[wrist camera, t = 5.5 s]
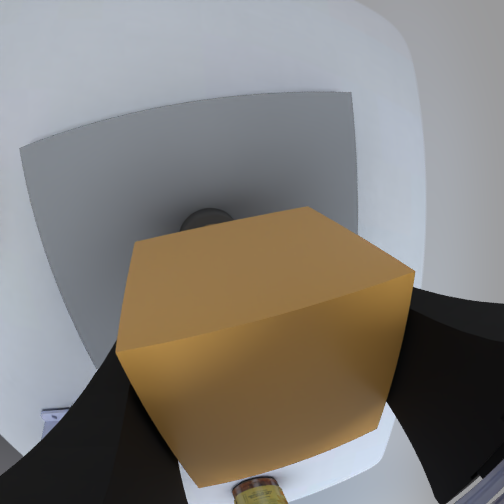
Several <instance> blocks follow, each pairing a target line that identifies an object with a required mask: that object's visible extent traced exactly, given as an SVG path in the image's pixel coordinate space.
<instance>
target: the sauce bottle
mask: <svg viewBox="0 0 504 504" xmlns="http://www.w3.org/2000/svg"><path fill="white" fill-rule="evenodd" d="M232 493H233V496H234V499H235V500H234V503H235V504H288V502H287V500H286V498H285V496H284V494H283V491H282V489H281V488H280V487H279V485H278V484H277V481H276V480H274V479H273V478H257V479H252V480H247V481H245V482H242V483H241V484H239V485H238V486H237V487H235V488H234V489H233V491H232Z"/></svg>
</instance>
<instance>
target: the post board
mask: <svg viewBox="0 0 504 504" xmlns="http://www.w3.org/2000/svg"><path fill="white" fill-rule="evenodd" d="M19 149H20V155H21V160H22V166H23V171H24V176H25V180H26V185H27V189H28V194H29V198H30V202H31V206H32V209H33V213H34V217H35V220H36V224H37V227H38V231H39V234H40V237H41V241H42V244H43V247H44V250H45V253H46V256H47V259H48V262H49V264H50V267H51V270H52V273H53V275H54V278H55V281H56V283H57V286H58V288H59V291H60V293H61V296H62V298H63V300H64V303H65V305H66V308H67V310H68V312H69V314H70V317H71V319H72V321H73V323H74V325H75V328H76V330H77V332H78V334H79V336H80V338H81V340H82V342H83V344H84V346H85V348H86V350H87V352H88V354H89V356H90V358H91V360H92V361H93V363H94V365H95V367H96V369H98V368H100V366H101V365H102V363H103V361H104V360H105V358H106V356H107V355H108V353H109V352H110V350H111V348H112V347H113V345H114V343H115V342H116V340H117V336H118V329H119V323H120V316H121V310H122V304H123V298H124V293H125V287H126V282H127V277H128V272H129V267H130V262H131V257H132V253H133V248H134V244H135V242H136V241H141V240H145V239H150V238H154V237H158V236H163V235H167V234H172V233H176V232H181V231H186V230H190V229H195V228H200V227H204V226H209V225H214V224H219V223H224V222H228V221H233V220H238V219H243V218H248V217H253V216H258V215H264V214H269V213H274V212H279V211H285V210H290V209H295V208H301V207H306V206H308V207H310V208H312V209H314V210H315V211H317V212H319V213H321V214H323V215H324V216H326V217H328V218H329V219H331V220H333V221H335V222H336V223H338V224H340V225H341V226H343V227H345V228H347V229H348V230H350V231H352V232H353V233H355V234H357V235H358V191H357V160H356V142H355V127H354V115H353V103H352V94H351V92H287V93H268V94H254V95H242V96H232V97H223V98H215V99H207V100H200V101H193V102H187V103H181V104H175V105H169V106H164V107H159V108H154V109H149V110H144V111H139V112H135V113H131V114H126V115H122V116H118V117H114V118H110V119H106V120H103V121H99V122H95V123H92V124H88V125H85V126H82V127H78V128H75V129H72V130H69V131H66V132H62V133H59V134H56V135H54V136H51V137H48V138H45V139H42V140H40V141H37V142H34V143H32V144H29V145H26V146H24V147H21V148H19Z"/></svg>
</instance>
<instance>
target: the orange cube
mask: <svg viewBox="0 0 504 504" xmlns="http://www.w3.org/2000/svg"><path fill="white" fill-rule="evenodd" d="M414 277H415V271H414V270H413V269H411V268H409V267H408V266H406V265H405V264H403V263H402V262H400V261H399V260H397V259H395V258H394V257H392V256H391V255H389V254H388V253H386V252H384V251H383V250H381V249H380V248H378V247H376V246H375V245H373V244H371V243H370V242H368V241H367V240H365V239H363V238H362V237H360V236H358V235H357V234H355V233H353V232H352V231H350V230H348V229H347V228H345V227H343V226H341V225H340V224H338V223H336V222H335V221H333V220H331V219H329V218H328V217H326V216H324V215H323V214H321V213H319V212H317V211H315V210H314V209H312V208H310V207H308V206H306V207H301V208H295V209H290V210H285V211H279V212H274V213H269V214H264V215H258V216H253V217H248V218H243V219H238V220H233V221H228V222H224V223H219V224H214V225H209V226H204V227H200V228H195V229H190V230H186V231H181V232H176V233H172V234H167V235H163V236H158V237H154V238H150V239H145V240H141V241H136V242H135V244H134V248H133V253H132V257H131V262H130V267H129V272H128V277H127V282H126V287H125V293H124V298H123V304H122V310H121V316H120V323H119V329H118V336H117V344H116V351H115V353H116V355H117V357H118V359H119V361H120V363H121V365H122V367H123V369H124V371H125V373H126V375H127V377H128V378H129V380H130V382H131V384H132V386H133V388H134V390H135V391H136V393H137V395H138V397H139V399H140V400H141V402H142V404H143V406H144V407H145V409H146V411H147V412H148V414H149V416H150V417H151V419H152V421H153V422H154V424H155V426H156V427H157V429H158V430H159V432H160V434H161V435H162V437H163V438H164V440H165V441H166V443H167V444H168V446H169V447H170V449H171V450H172V452H173V453H174V455H175V456H176V458H177V459H178V461H179V462H180V463H181V465H182V466H183V468H184V469H185V470H186V472H187V473H188V475H189V476H190V477H191V479H192V480H193V481H194V483H195V484H196V485H197V486H198V488H202V487H207V486H212V485H217V484H222V483H226V482H231V481H235V480H239V479H243V478H247V477H251V476H255V475H258V474H262V473H265V472H269V471H272V470H275V469H278V468H282V467H285V466H288V465H291V464H294V463H297V462H299V461H302V460H305V459H308V458H311V457H313V456H316V455H318V454H321V453H324V452H326V451H329V450H331V449H333V448H336V447H338V446H340V445H343V444H345V443H347V442H350V441H352V440H354V439H356V438H358V437H361V436H363V435H365V434H367V433H369V432H371V431H373V430H375V429H377V427H378V424H379V421H380V418H381V415H382V412H383V409H384V406H385V403H386V400H387V397H388V393H389V390H390V387H391V383H392V380H393V376H394V373H395V369H396V365H397V361H398V357H399V353H400V349H401V345H402V341H403V336H404V332H405V327H406V322H407V317H408V312H409V307H410V301H411V296H412V290H413V283H414Z"/></svg>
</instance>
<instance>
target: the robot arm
mask: <svg viewBox="0 0 504 504" xmlns="http://www.w3.org/2000/svg"><path fill="white" fill-rule="evenodd" d="M116 344H117V340H116V342H115V343H114V345H113V347H112V348H111V350H110V352H109V353H108V355H107V356H106V358H105V360H104V361H103V363H102V365H101V366H100V368H99V369H98V370H97V372H96V373H95V375H94V376H93V378H92V379H91V381H90V382H89V384H88V385H87V387H86V388H85V390H84V391H83V392H82V394H81V395H80V396H79V398H78V399H77V400H76V402H75V403H74V404H73V405H72V407H71V408H70V409H66V410H52V411H42V412H41V417H42V419H43V420H44V421H45V424H44V429H43V434H42V439H41V441H40V442H39V443H38V444H37V445H36V446H35V447H34V448H33V449H32V450H31V451H30V452H28V453H27V454H26V455H25V456H24V457H23V458H22V459H21V460H19V461H18V462H17V463H16V464H15V465H13V466H12V467H11V468H10V469H8V470H7V471H6V472H5V473H3V474H2V475H1V476H0V504H188V502H187V499H186V495H185V491H184V487H183V483H182V479H181V474H180V470H179V464H178V459H177V458H176V456H175V455H174V453H173V452H172V450H171V449H170V447H169V446H168V444H167V443H166V441H165V440H164V438H163V437H162V435H161V434H160V432H159V430H158V429H157V427H156V426H155V424H154V422H153V421H152V419H151V417H150V416H149V414H148V412H147V411H146V409H145V407H144V406H143V404H142V402H141V400H140V399H139V397H138V395H137V393H136V391H135V390H134V388H133V386H132V384H131V382H130V380H129V378H128V377H127V375H126V373H125V371H124V369H123V367H122V365H121V363H120V361H119V359H118V357H117V355H116V353H115V351H116ZM386 402H387V403H388V405H389V406H390V408H391V409H392V411H393V413H394V414H395V416H396V418H397V419H398V421H399V422H400V424H401V426H402V428H403V429H404V431H405V433H406V435H407V437H408V438H409V440H410V442H411V444H412V446H413V448H414V450H415V452H416V454H417V456H418V458H419V460H420V462H421V464H422V466H423V469H424V471H425V473H426V476H427V478H428V481H429V483H430V485H431V488H432V491H433V494H434V497H435V498H436V500H437V501H438V503H439V504H446V503H448V502H449V501H450V500H452V499H453V498H454V497H455V496H457V495H458V494H459V493H460V492H462V491H463V490H464V489H465V488H466V487H468V486H469V485H470V484H471V483H472V482H474V481H475V480H476V479H477V478H478V477H479V476H481V477H482V479H483V480H481V481H480V482H479V483H478V484H477V485H476V486H475V487H474V488H472V489H471V490H470V491H469V492H468V493H466V494H465V495H464V496H463V497H462V498H460V499H459V500H458V501H456V502H455V503H454V504H486V503H487V502H488V501H489V500H490V499H491V498H492V497H493V496H494V495H495V494H497V493H498V492H499V491H500V489H502V488H503V486H504V304H499V303H489V302H479V301H472V300H465V299H459V298H455V297H449V296H445V295H440V294H436V293H433V292H429V291H425V290H421V289H418V288H415V287H413V290H412V296H411V301H410V307H409V312H408V317H407V322H406V327H405V332H404V336H403V341H402V345H401V349H400V353H399V357H398V361H397V365H396V369H395V373H394V376H393V380H392V383H391V387H390V390H389V393H388V397H387V400H386ZM491 504H504V493H503V494H502V495H501V496H500V497H498V498H497V499H496V500H495V501H494V502H492V503H491Z"/></svg>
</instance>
